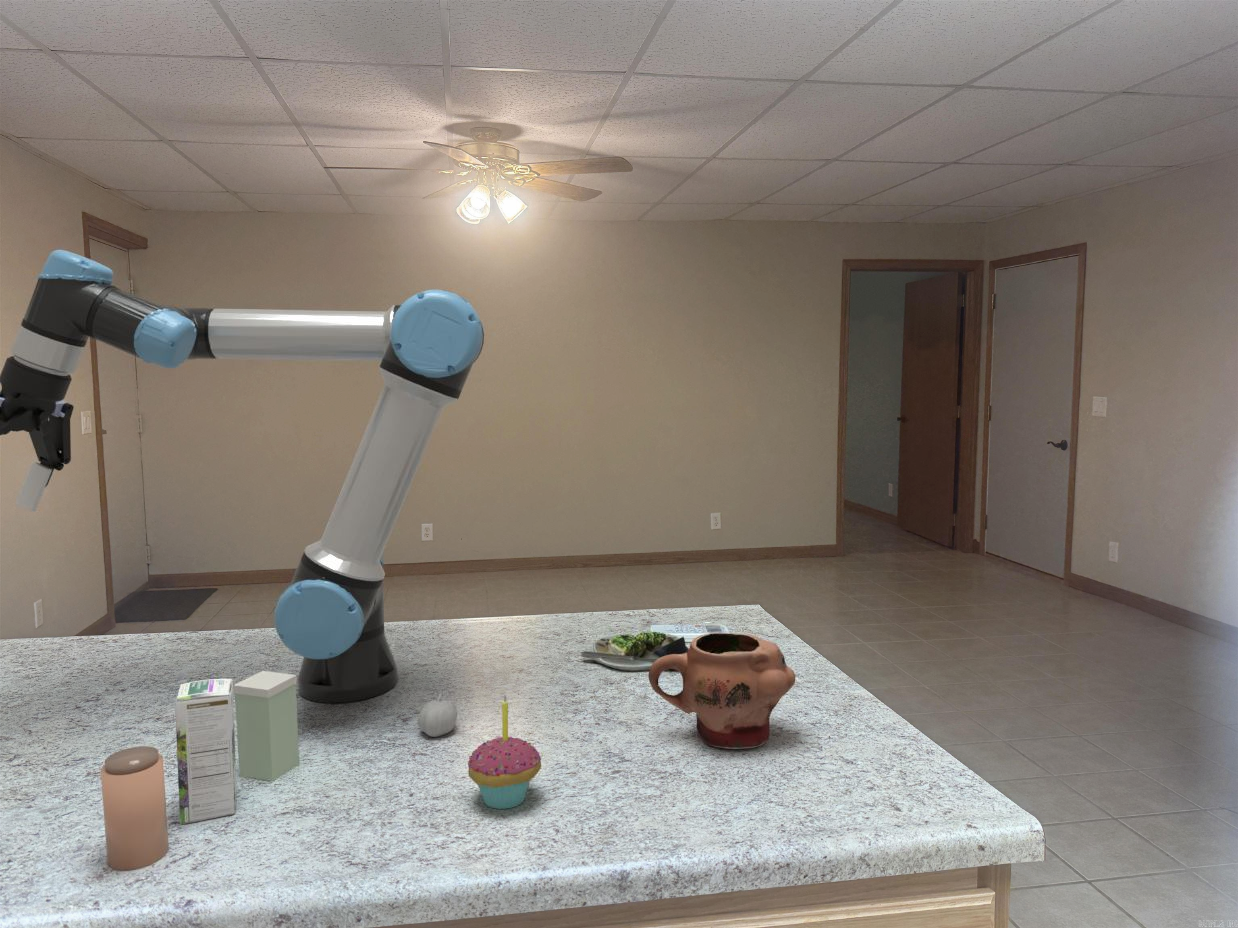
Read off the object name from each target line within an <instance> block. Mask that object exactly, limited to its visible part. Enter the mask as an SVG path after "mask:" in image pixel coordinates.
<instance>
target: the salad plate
mask: <svg viewBox="0 0 1238 928" xmlns="http://www.w3.org/2000/svg"><path fill="white" fill-rule="evenodd" d="M592 648H593V651H588V650H587V651H582V652H580V656H581V657H582V658H585V659H589V660H593V661H596V662H598V663H600V664H601V665H604V666H607V667H610V668H612V669H616V670H620V671H627V672H640V671H649V670H650V668H651V666H652V664H653V663H654V662H655V661H656V660H657V659H659V658H661V657H663V656H666V655H671V654H684V653H687V652H688V651H689V648H688V647H687V644H686V639H685V637H684V636H682V637H679V636H677V635H675V634H670V633H664V632H657V631H647V632H644V631H643V632H640V633H638V634H633V635H632V634H631V635H630V634H617V635H612V636H611V635H610V636H609V635H608V636H605V637H601V638H599V639H597V640H596V641H595V642H594V643H593V644H592Z"/></svg>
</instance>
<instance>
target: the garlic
mask: <svg viewBox="0 0 1238 928" xmlns="http://www.w3.org/2000/svg"><path fill="white" fill-rule="evenodd" d="M442 696H443V694H442V693H438V695H437V699H433V700H431V701H428V702H425V703H424V704H423V705H422V706H421V707H420V711H419V714H418V717H417V718H418V719H417V722H418V727H419V728H420V730H421V731H422V732H424V733H425V734H427V736H429V737H432V738H436V737H440V736H443V735H446V734H447V733H450V732H451V731H452V730H453V728H454V727H455V726H456V722H457V718H458V711H457V705H456V704H455V703H454V702H453V701H451V700H444V699H442Z"/></svg>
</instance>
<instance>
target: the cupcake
mask: <svg viewBox="0 0 1238 928" xmlns="http://www.w3.org/2000/svg"><path fill="white" fill-rule="evenodd" d="M508 705H509V702H508V701H507V696H506V694H504V695H503V702H501V708H502V710H501V712H502V715H501V716H502V719H501V721H502V722H501V723H502V724H501V725H502V728H501V729H502V732H501V733H502V734H501V735H502V737H496V738H493V739H491V740H486V741H485V742H483V743H482V744H480V745H478V746H477V748H476V749H475V750H473V751H472V752H471V755H469V757H468V762H467V765H468V770H467V771H468V772H467V775H468V776H469V778H470V779H471V780H472V781H473V783H475V784H476V785H477V787H478V788H479V790H480V793H481V796H482V799H483V802H484V804H485V805H486V806H488V807H489V808H491V809H496V810H507V809H512V808H515V807H517V806H520V804H522V803H523V802H524V800H525V798H526V794H527V790H528V787H529V785H530V782H531V781H532V779H534V778H535V777H536V776H537V775H538V773H539V772H540V770H541V769H542V761H541V760H542V757H541V755H540V752H539V751H538V750H537V748H536V747H535V746H534V745H532V744H531V742H527V740H524V739H521V738H518V737H512V736H509V720H508V719H509V706H508Z"/></svg>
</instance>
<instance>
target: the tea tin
mask: <svg viewBox="0 0 1238 928" xmlns="http://www.w3.org/2000/svg"><path fill="white" fill-rule="evenodd" d="M297 682H298V679H297V675H296V674H290V673H289V674H288V673H283V672H281V673H280V672H275V671H274V672H273V671H266V670H262V671H260V672H257V673H255V674H254V675H252V676H249V677H248V678H246V679H243V680H241V681H239V682H236V683H235V684H233V694H234V702H235V703H234V704H235V718H236V720H235V721H236V736H237V737H236V738H237V754H238V771H239V773H238V775H239V777H243V778H248V777H251V778H250V779H254V778H257V779H256V780H260V779H262V781H266V780H269V781H268V782H271V781H272V783H273V782H275V781H276V780H277V779H279V778H280V777H282V776H283V775H285V774H286V773H288V772H289V771H290V769H291V770H292V769H293V767H294V768H295V767H297V766H298V765H300V751H299V750H300V748H299V731H298V729H299V727H298V709H297V708H298V707H297V706H298V705H297V686H296V685H297V684H298V683H297ZM296 765H297V766H296ZM287 771H288V772H287ZM284 773H285V774H284ZM281 775H282V776H281ZM278 777H279V778H278ZM276 778H277V779H276ZM275 779H276V780H275Z"/></svg>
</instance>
